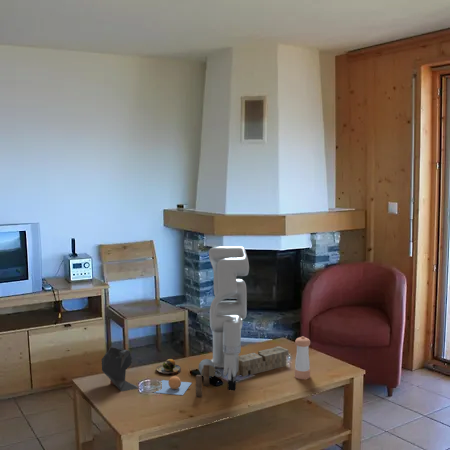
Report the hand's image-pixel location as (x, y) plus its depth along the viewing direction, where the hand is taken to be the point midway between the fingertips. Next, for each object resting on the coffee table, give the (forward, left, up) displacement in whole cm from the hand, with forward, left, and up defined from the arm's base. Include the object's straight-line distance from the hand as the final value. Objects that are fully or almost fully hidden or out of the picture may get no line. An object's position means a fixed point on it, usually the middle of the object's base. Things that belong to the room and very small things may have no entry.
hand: (231, 389), depth 242 cm
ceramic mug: (-17, -14, -2) cm, 22 cm away
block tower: (-32, +7, -2) cm, 32 cm away
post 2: (-6, -13, -2) cm, 15 cm away
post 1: (+6, -13, -2) cm, 15 cm away
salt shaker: (-26, +28, -2) cm, 38 cm away
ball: (+1, -26, +1) cm, 26 cm away
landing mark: (0, -27, -2) cm, 27 cm away
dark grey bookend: (+2, -51, -2) cm, 51 cm away
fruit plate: (-19, -35, -2) cm, 40 cm away
